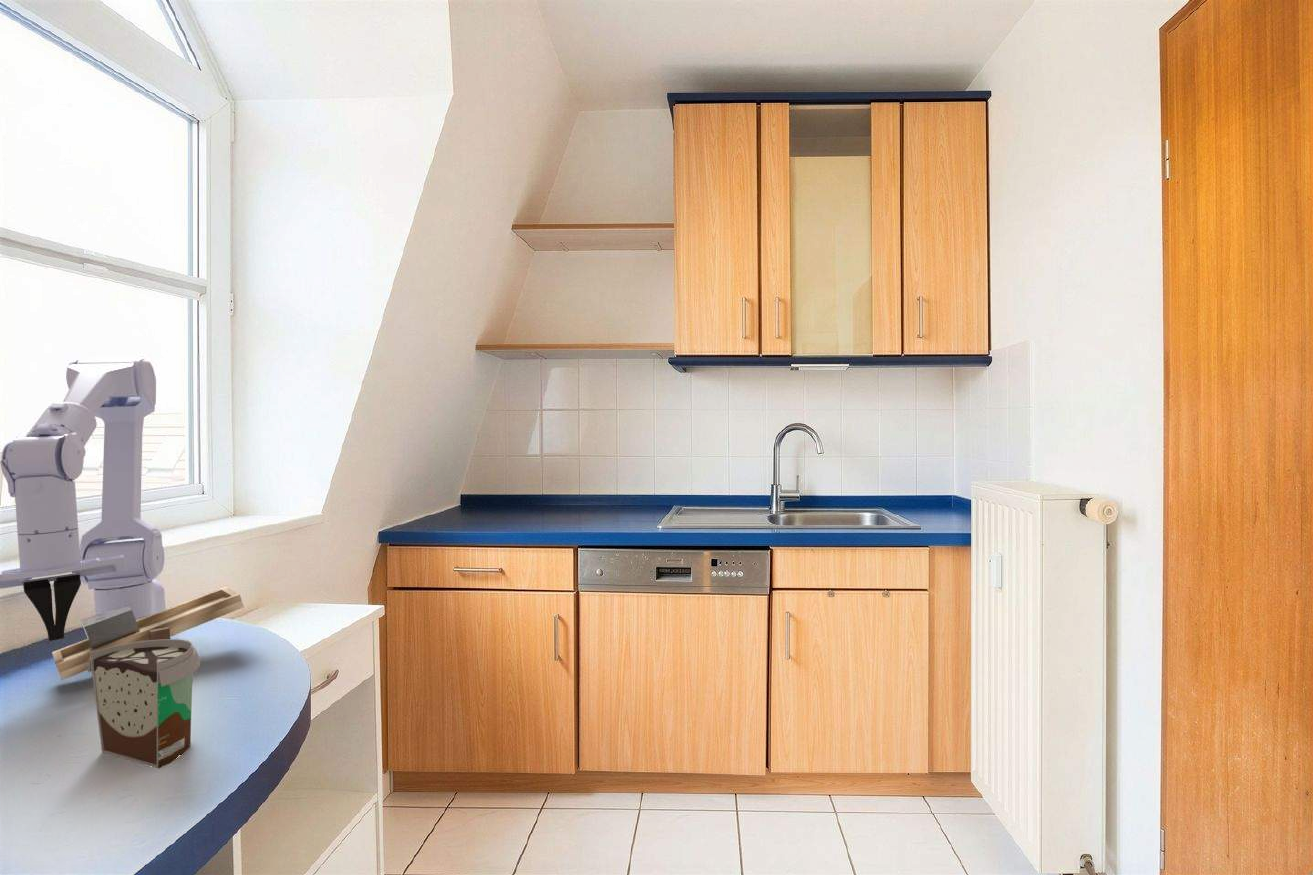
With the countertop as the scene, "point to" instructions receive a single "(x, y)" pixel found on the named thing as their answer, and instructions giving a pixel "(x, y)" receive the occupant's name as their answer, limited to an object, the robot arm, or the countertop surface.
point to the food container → (144, 699)
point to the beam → (154, 627)
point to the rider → (110, 626)
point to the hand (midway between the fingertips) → (56, 638)
